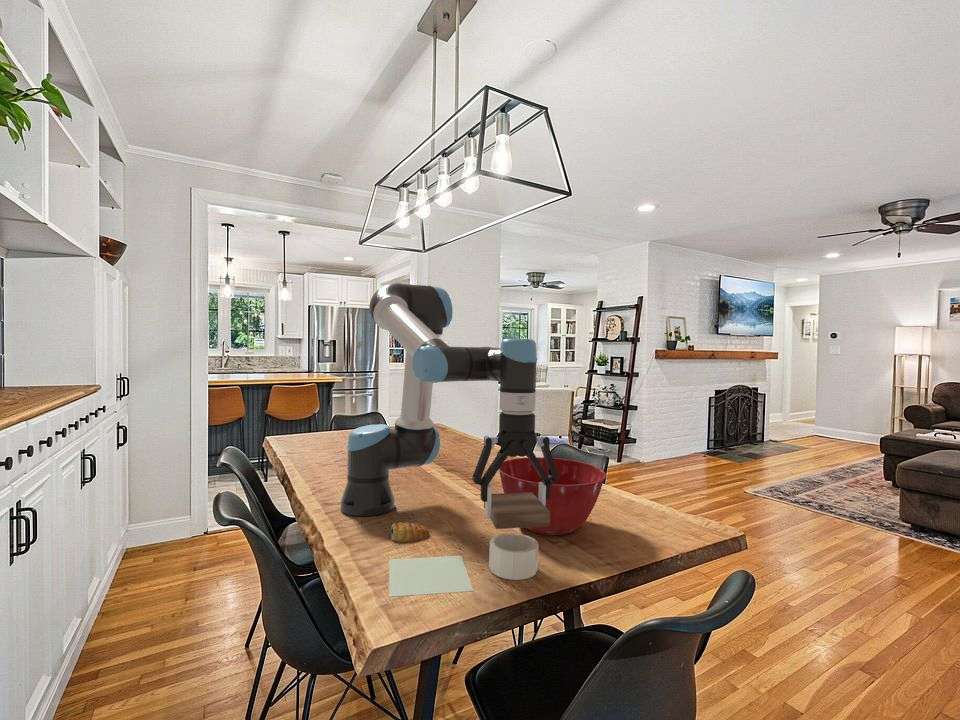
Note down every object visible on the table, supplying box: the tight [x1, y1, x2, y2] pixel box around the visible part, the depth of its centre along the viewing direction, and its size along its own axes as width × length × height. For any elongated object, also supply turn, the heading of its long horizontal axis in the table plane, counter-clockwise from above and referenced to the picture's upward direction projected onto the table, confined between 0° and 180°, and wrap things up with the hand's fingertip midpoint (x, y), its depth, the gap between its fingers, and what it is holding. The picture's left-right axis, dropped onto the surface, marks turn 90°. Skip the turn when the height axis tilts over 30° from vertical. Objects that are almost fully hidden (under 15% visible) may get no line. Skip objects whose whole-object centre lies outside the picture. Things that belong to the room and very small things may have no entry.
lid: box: [483, 492, 550, 530], centre depth 105 cm, size 13×11×3 cm
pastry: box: [390, 521, 430, 543], centre depth 122 cm, size 9×7×4 cm
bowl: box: [488, 532, 539, 581], centre depth 105 cm, size 10×10×6 cm
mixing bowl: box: [498, 456, 607, 536], centre depth 132 cm, size 28×28×15 cm
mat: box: [388, 555, 474, 598], centre depth 102 cm, size 16×16×1 cm
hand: (515, 515), depth 105 cm, fingers closed on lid, 11 cm apart
